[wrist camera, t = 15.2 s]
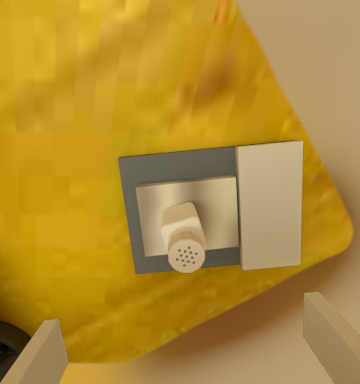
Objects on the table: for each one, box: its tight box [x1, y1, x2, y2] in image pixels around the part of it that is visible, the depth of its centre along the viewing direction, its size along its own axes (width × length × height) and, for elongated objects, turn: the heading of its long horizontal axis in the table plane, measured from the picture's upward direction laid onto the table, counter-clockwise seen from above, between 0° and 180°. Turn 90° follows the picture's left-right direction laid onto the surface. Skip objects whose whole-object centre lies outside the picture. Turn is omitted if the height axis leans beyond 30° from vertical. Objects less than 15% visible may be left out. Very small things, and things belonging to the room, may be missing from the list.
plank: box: [136, 175, 239, 257], centre depth 30 cm, size 12×9×2 cm
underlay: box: [118, 141, 303, 274], centre depth 31 cm, size 22×16×3 cm
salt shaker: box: [161, 202, 207, 273], centre depth 25 cm, size 4×4×10 cm
